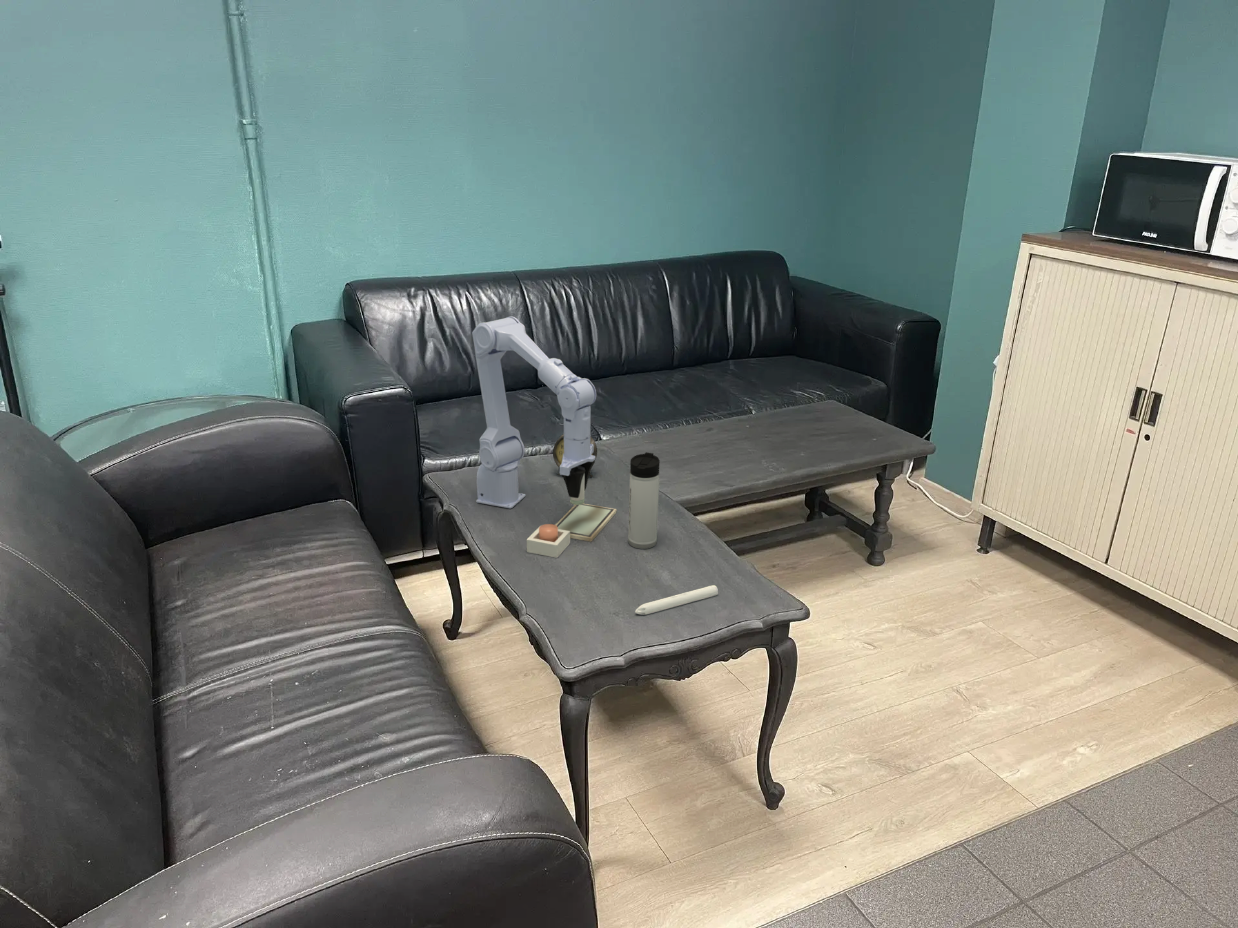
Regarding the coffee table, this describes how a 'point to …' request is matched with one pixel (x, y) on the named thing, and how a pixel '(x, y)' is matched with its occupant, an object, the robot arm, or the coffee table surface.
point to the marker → (677, 600)
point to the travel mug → (643, 500)
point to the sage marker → (581, 497)
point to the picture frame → (585, 521)
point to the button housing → (548, 544)
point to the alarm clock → (559, 451)
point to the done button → (548, 532)
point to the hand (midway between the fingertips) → (577, 493)
